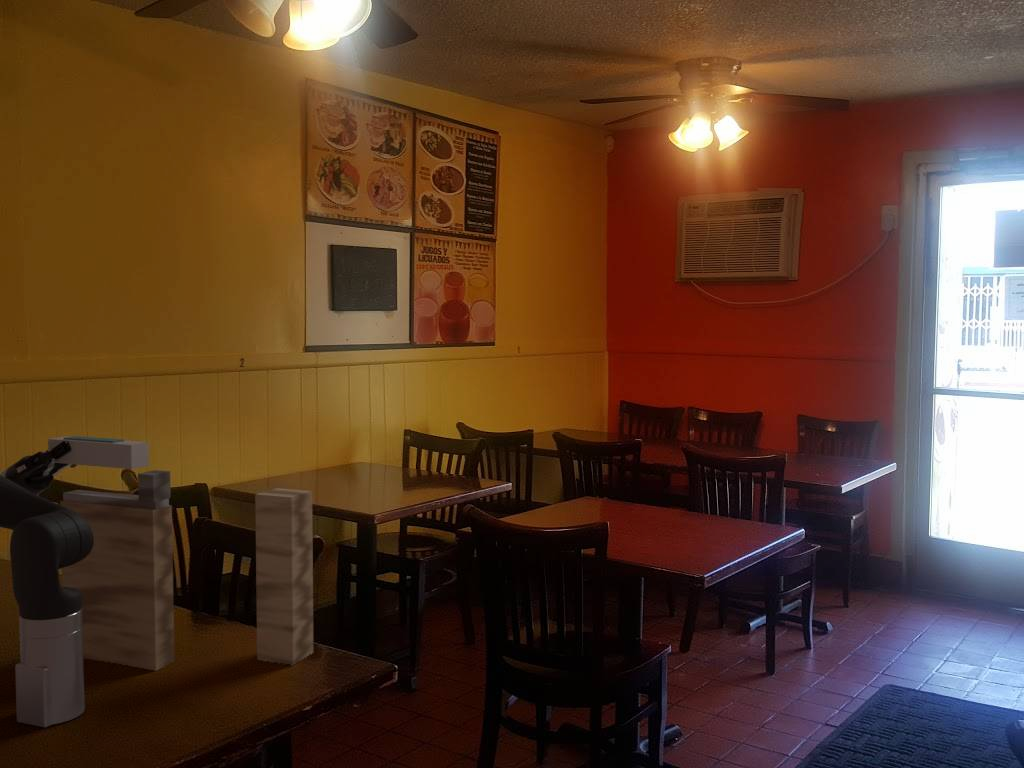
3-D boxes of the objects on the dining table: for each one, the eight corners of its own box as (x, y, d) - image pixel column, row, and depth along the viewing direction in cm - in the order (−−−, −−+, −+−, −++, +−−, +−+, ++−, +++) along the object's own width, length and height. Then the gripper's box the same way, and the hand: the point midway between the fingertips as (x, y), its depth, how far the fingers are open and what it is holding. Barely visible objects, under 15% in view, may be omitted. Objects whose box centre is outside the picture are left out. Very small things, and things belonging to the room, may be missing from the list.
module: (148, 465, 177) (148, 440, 177) (131, 469, 173) (131, 443, 172) (67, 459, 184) (66, 434, 184) (48, 462, 180) (47, 437, 179)
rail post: (155, 670, 173) (152, 475, 171) (64, 655, 181) (59, 467, 179) (174, 661, 178) (171, 471, 176) (84, 646, 186) (79, 463, 183)
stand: (293, 665, 176) (291, 497, 174) (257, 659, 179) (255, 494, 177) (313, 653, 183) (312, 491, 181) (278, 648, 186) (277, 488, 184)
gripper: (-18, 470, 179) (40, 430, 173) (43, 460, 193) (99, 422, 187) (-2, 505, 178) (57, 466, 173) (58, 492, 192) (115, 456, 186)
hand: (78, 443), depth 180 cm, fingers closed on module, 4 cm apart
